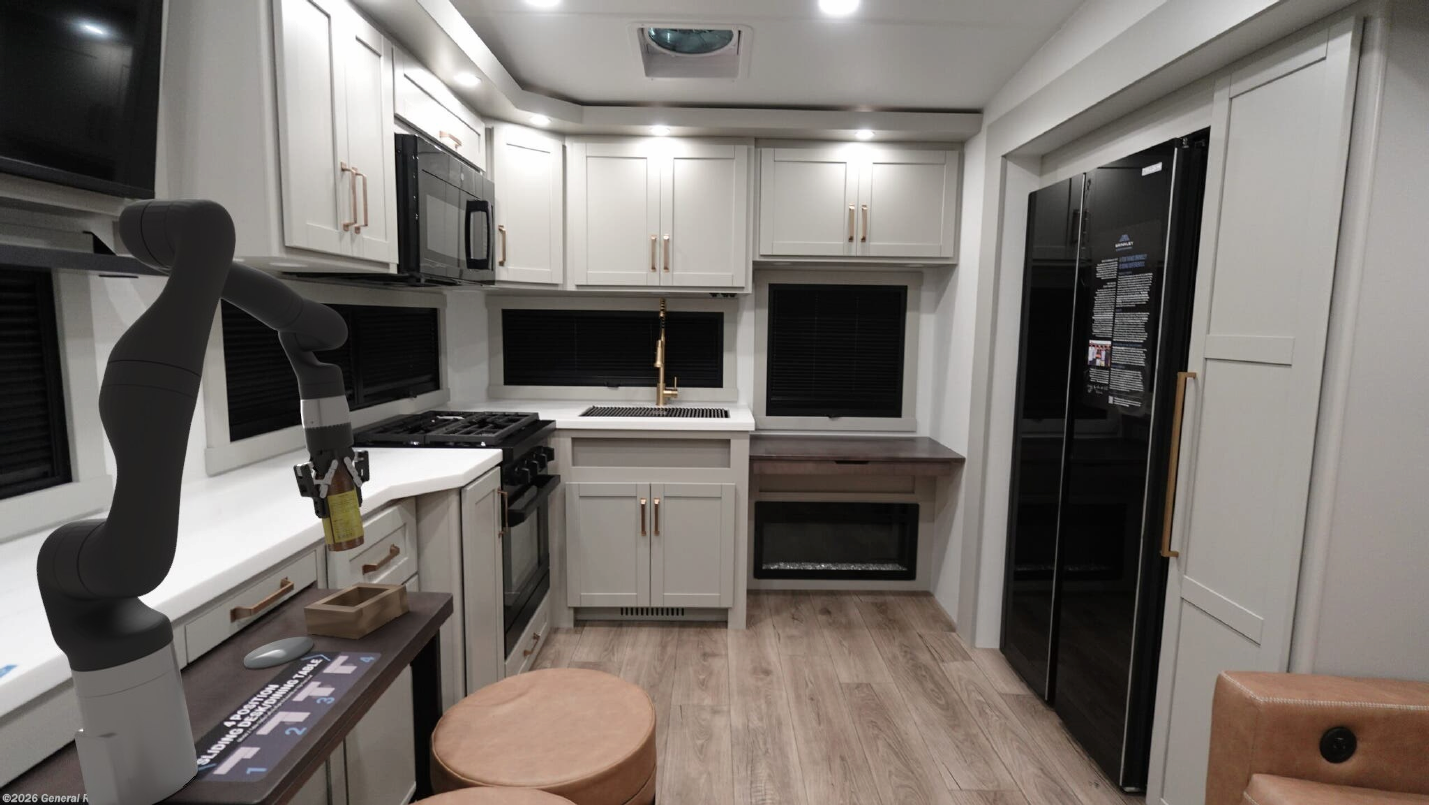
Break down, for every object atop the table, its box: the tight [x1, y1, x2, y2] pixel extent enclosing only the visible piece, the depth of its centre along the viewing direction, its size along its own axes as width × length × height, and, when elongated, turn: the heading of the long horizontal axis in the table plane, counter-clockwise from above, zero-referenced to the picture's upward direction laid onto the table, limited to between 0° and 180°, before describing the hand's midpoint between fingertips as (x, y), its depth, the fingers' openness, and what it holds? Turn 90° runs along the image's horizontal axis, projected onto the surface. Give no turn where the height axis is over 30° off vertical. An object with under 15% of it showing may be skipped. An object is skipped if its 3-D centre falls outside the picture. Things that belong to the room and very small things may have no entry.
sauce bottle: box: [317, 449, 365, 553], centre depth 122 cm, size 6×6×20 cm
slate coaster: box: [243, 636, 314, 670], centre depth 115 cm, size 10×10×1 cm
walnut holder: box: [303, 582, 410, 640], centre depth 125 cm, size 12×12×5 cm
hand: (340, 512), depth 122 cm, fingers closed on sauce bottle, 6 cm apart
